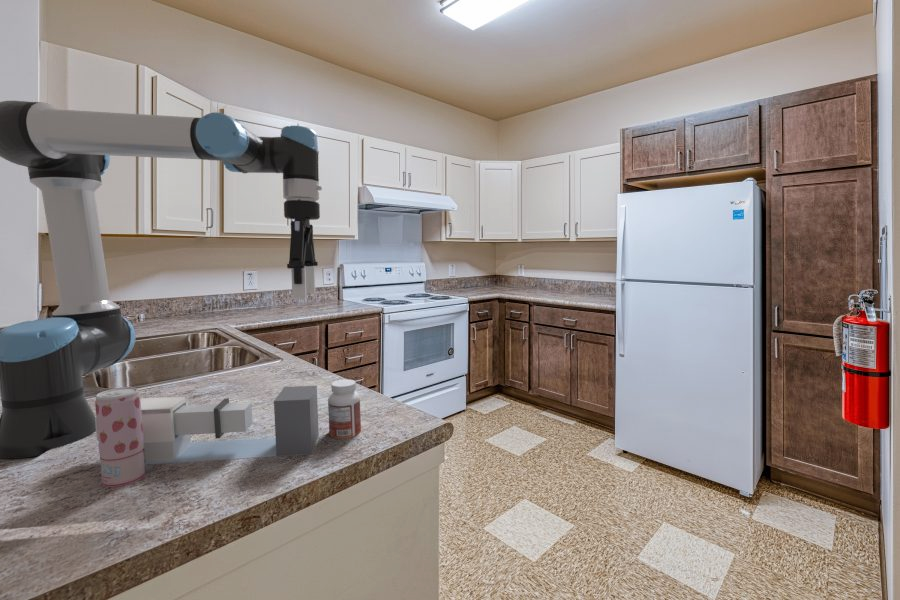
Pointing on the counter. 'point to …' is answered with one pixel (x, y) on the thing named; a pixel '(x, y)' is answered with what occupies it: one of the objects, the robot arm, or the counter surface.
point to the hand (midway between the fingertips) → (304, 296)
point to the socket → (296, 420)
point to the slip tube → (211, 418)
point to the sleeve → (162, 428)
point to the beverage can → (120, 436)
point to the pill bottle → (344, 410)
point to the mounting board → (227, 450)
